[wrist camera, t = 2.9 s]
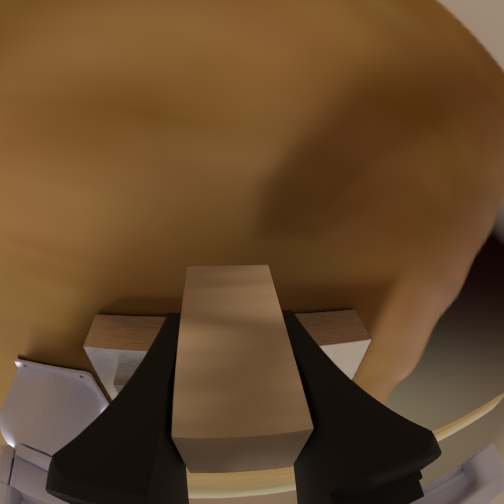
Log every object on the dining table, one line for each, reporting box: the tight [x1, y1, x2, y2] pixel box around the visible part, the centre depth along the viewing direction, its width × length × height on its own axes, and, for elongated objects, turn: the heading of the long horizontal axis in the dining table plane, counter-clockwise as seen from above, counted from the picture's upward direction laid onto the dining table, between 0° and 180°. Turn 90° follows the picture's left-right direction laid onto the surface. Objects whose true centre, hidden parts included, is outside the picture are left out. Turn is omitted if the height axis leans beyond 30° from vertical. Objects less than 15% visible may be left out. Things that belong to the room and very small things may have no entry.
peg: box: [171, 265, 314, 473], centre depth 9 cm, size 3×3×7 cm
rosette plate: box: [83, 309, 371, 400], centre depth 20 cm, size 18×16×5 cm
